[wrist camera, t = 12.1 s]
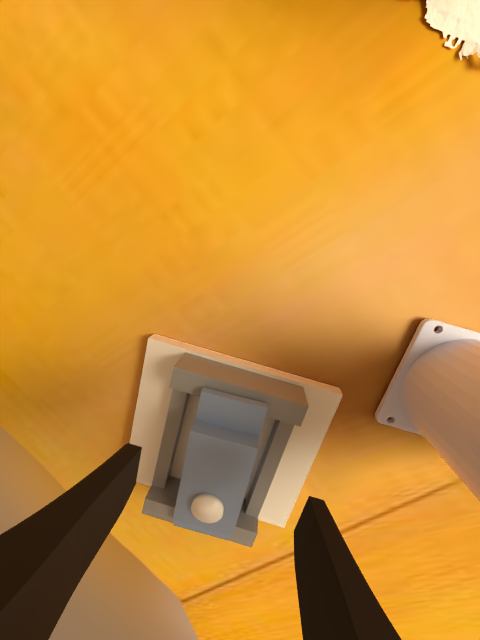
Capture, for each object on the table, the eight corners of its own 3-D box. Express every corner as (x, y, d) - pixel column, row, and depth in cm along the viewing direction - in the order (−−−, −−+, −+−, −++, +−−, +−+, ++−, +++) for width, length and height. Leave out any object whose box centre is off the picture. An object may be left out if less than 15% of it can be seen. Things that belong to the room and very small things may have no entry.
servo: (267, 382, 17) (268, 423, 13) (233, 499, 20) (225, 562, 16) (211, 368, 18) (195, 404, 13) (186, 487, 21) (166, 546, 16)
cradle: (338, 387, 18) (354, 416, 15) (283, 515, 22) (286, 560, 18) (154, 333, 18) (131, 350, 15) (129, 468, 22) (106, 504, 19)
